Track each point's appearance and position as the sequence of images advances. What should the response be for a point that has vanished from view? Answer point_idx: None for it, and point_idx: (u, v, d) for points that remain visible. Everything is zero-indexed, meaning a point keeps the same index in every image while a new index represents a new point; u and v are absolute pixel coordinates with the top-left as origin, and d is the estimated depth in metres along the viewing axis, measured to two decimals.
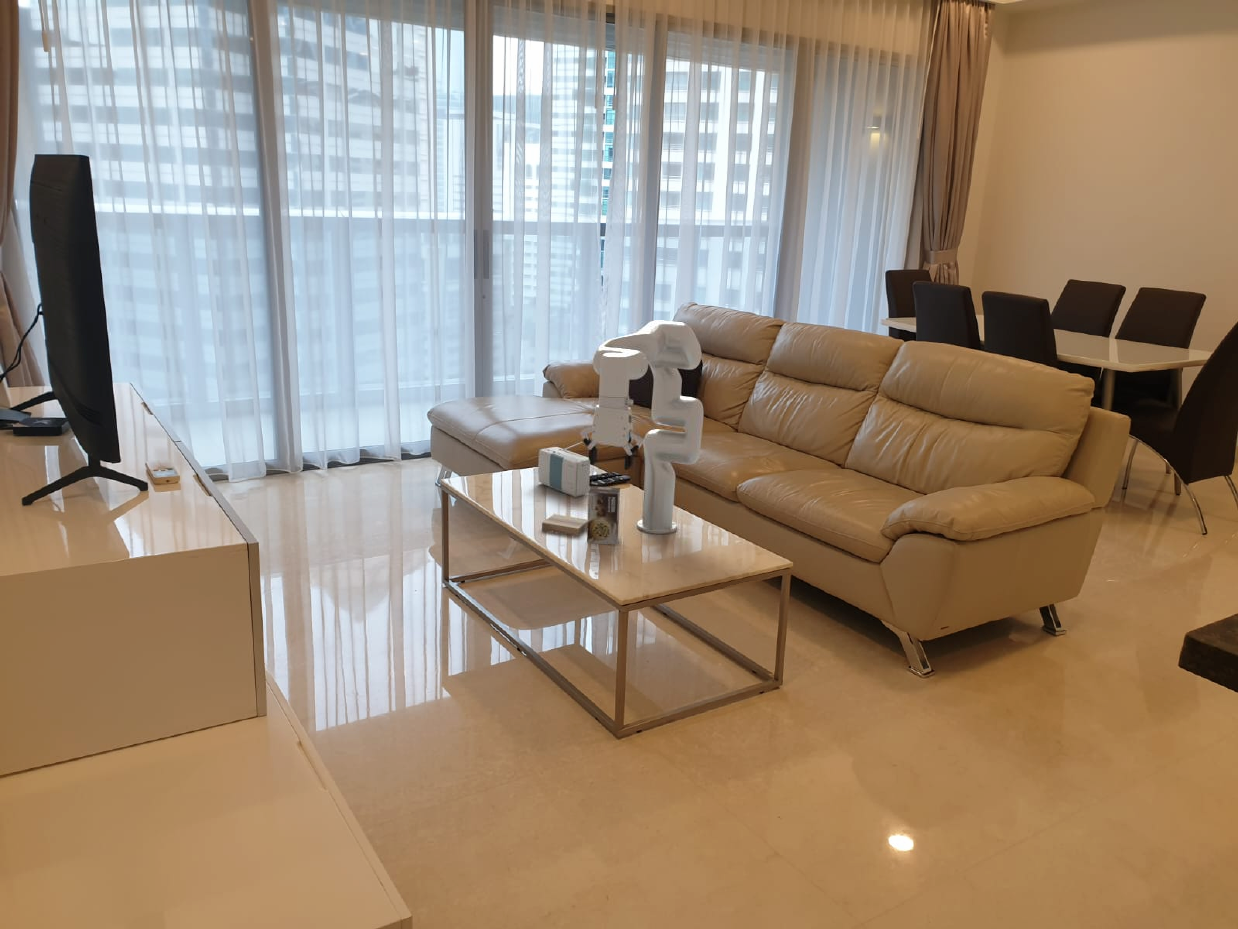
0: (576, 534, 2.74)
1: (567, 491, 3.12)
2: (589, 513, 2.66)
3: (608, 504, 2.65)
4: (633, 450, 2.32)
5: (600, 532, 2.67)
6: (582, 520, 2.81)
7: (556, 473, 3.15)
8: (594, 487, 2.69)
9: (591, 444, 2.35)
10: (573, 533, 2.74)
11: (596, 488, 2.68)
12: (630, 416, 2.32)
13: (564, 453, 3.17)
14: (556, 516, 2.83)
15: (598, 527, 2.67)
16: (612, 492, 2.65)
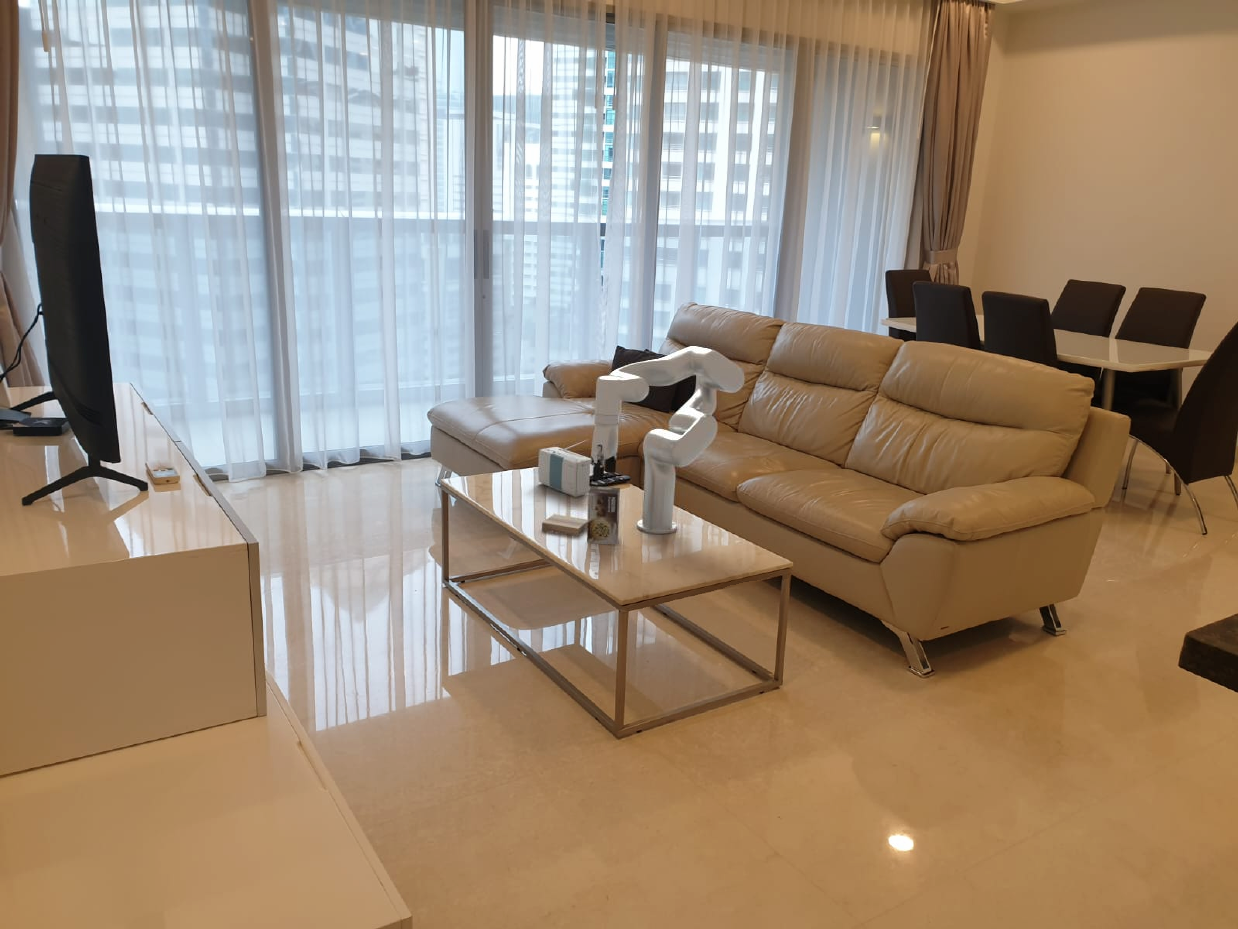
0: (576, 534, 2.74)
1: (567, 491, 3.12)
2: (589, 513, 2.66)
3: (608, 504, 2.65)
4: (615, 454, 2.70)
5: (600, 532, 2.67)
6: (582, 520, 2.81)
7: (556, 473, 3.15)
8: (594, 487, 2.69)
9: (603, 462, 2.59)
10: (573, 533, 2.74)
11: (596, 488, 2.68)
12: None
13: (564, 453, 3.17)
14: (556, 516, 2.83)
15: (598, 527, 2.67)
16: (612, 492, 2.65)
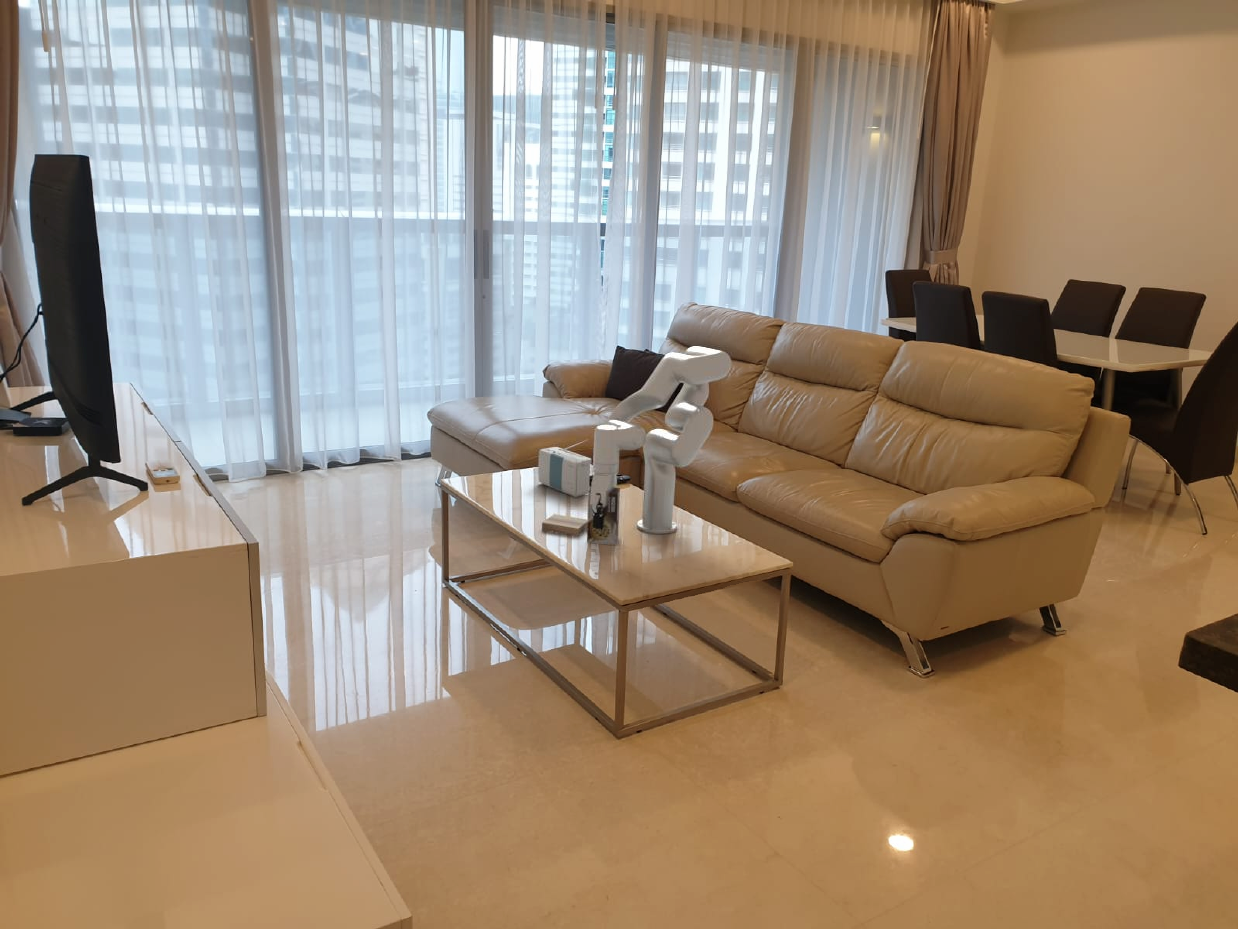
0: (576, 534, 2.74)
1: (567, 491, 3.12)
2: (589, 513, 2.66)
3: (608, 503, 2.65)
4: None
5: (600, 532, 2.67)
6: (582, 520, 2.81)
7: (556, 473, 3.15)
8: None
9: (602, 511, 2.64)
10: (573, 533, 2.74)
11: None
12: None
13: (564, 453, 3.17)
14: (556, 516, 2.83)
15: None
16: (612, 492, 2.65)
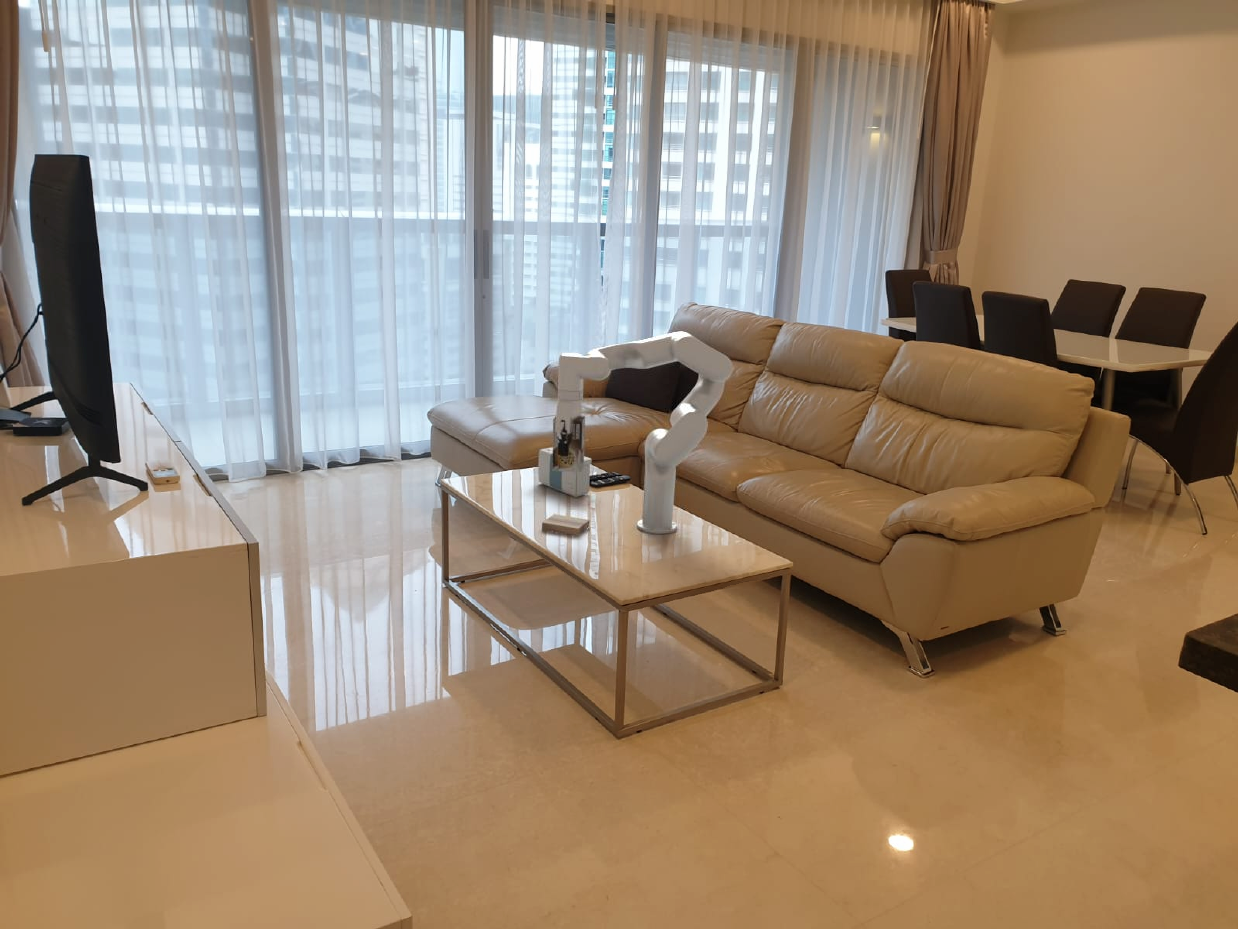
0: (576, 534, 2.74)
1: (567, 491, 3.12)
2: (554, 440, 2.70)
3: (572, 431, 2.68)
4: None
5: (565, 459, 2.71)
6: (582, 520, 2.81)
7: (556, 473, 3.15)
8: None
9: (567, 438, 2.68)
10: (573, 533, 2.74)
11: None
12: None
13: None
14: (556, 516, 2.83)
15: None
16: (577, 419, 2.69)
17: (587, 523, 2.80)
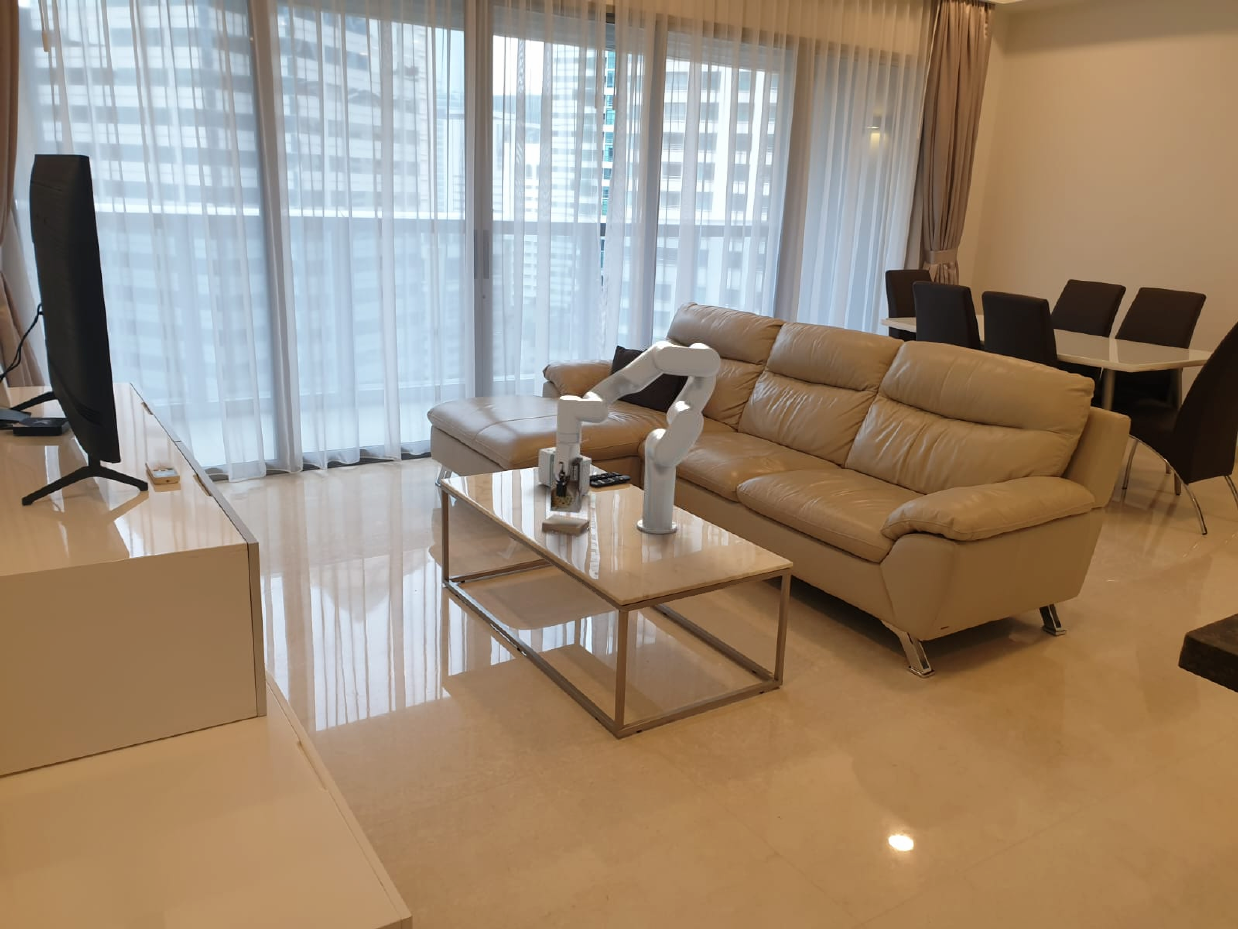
0: (576, 534, 2.74)
1: None
2: (552, 481, 2.73)
3: (570, 472, 2.72)
4: None
5: (563, 500, 2.74)
6: (582, 520, 2.81)
7: None
8: None
9: (565, 479, 2.71)
10: (573, 533, 2.74)
11: None
12: None
13: None
14: (556, 516, 2.83)
15: None
16: (575, 461, 2.72)
17: (587, 523, 2.80)
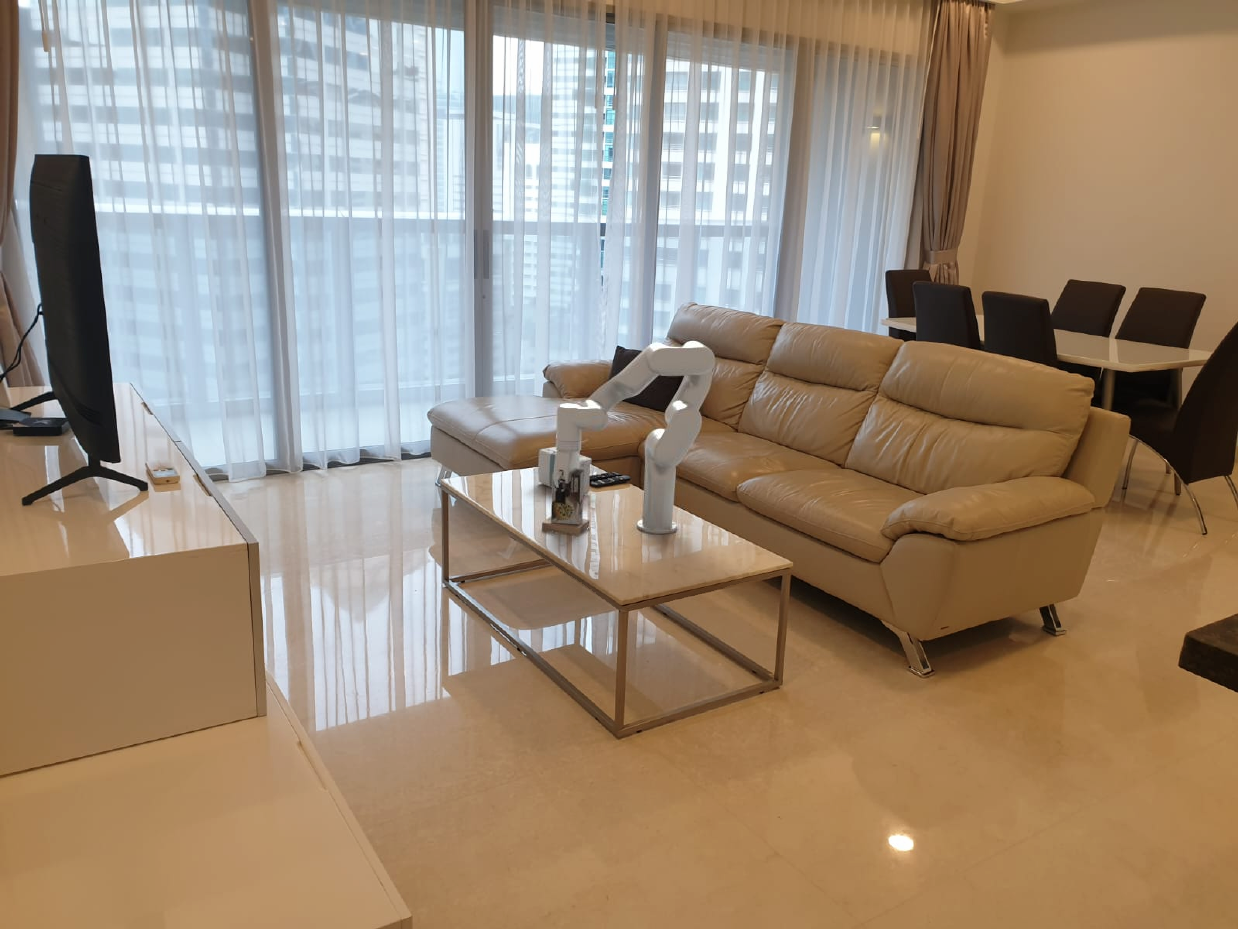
0: (576, 534, 2.74)
1: None
2: (553, 493, 2.75)
3: (571, 484, 2.73)
4: None
5: (564, 511, 2.75)
6: (582, 520, 2.81)
7: None
8: None
9: (564, 486, 2.71)
10: (573, 533, 2.74)
11: None
12: None
13: None
14: None
15: (562, 507, 2.75)
16: (575, 473, 2.73)
17: (587, 523, 2.80)
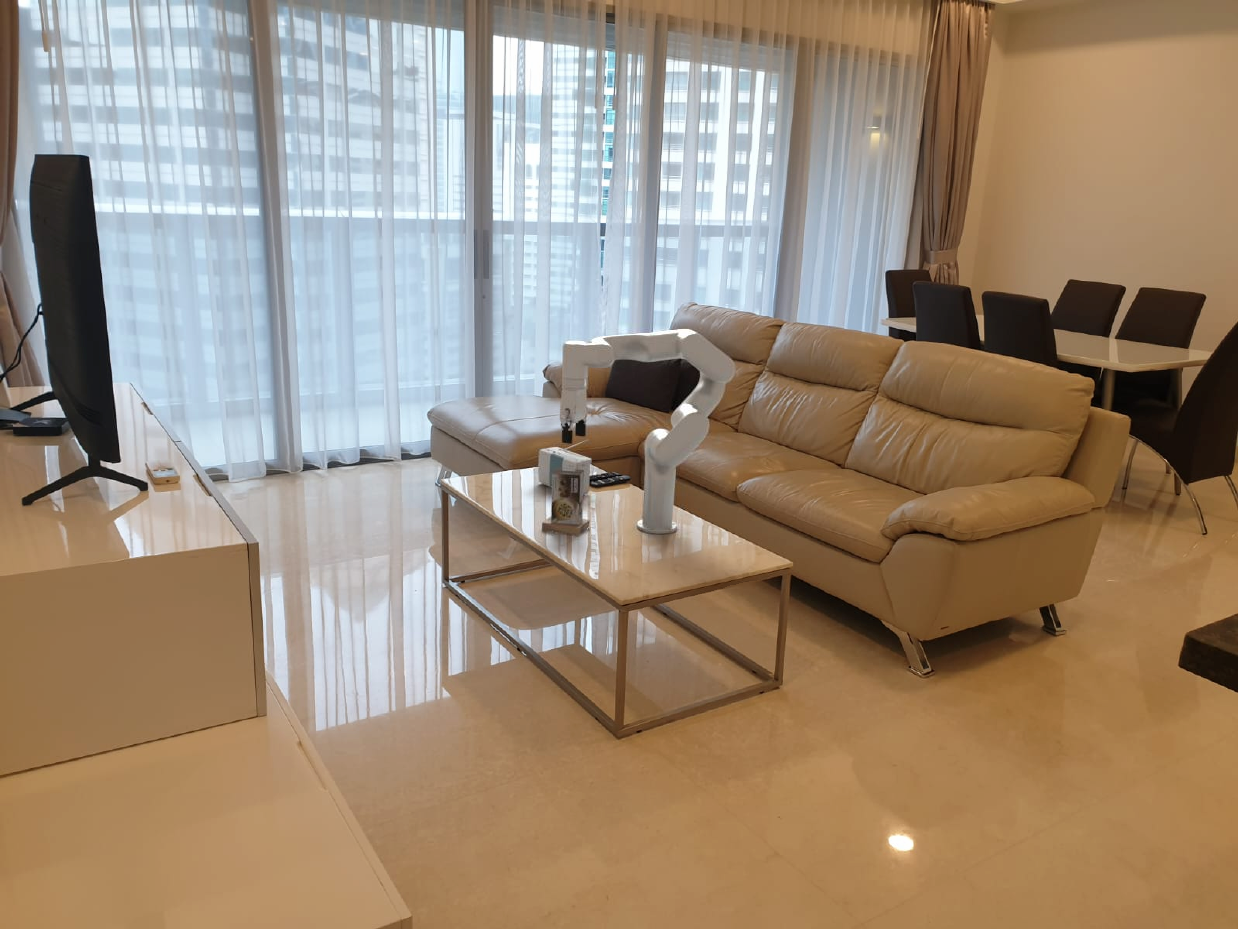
0: (576, 534, 2.74)
1: None
2: (553, 494, 2.74)
3: (570, 484, 2.73)
4: (585, 418, 2.76)
5: (564, 512, 2.75)
6: (582, 520, 2.81)
7: None
8: (558, 469, 2.77)
9: (571, 425, 2.65)
10: (573, 533, 2.74)
11: (560, 469, 2.76)
12: None
13: (564, 453, 3.17)
14: None
15: (562, 507, 2.75)
16: (575, 473, 2.73)
17: (587, 523, 2.80)
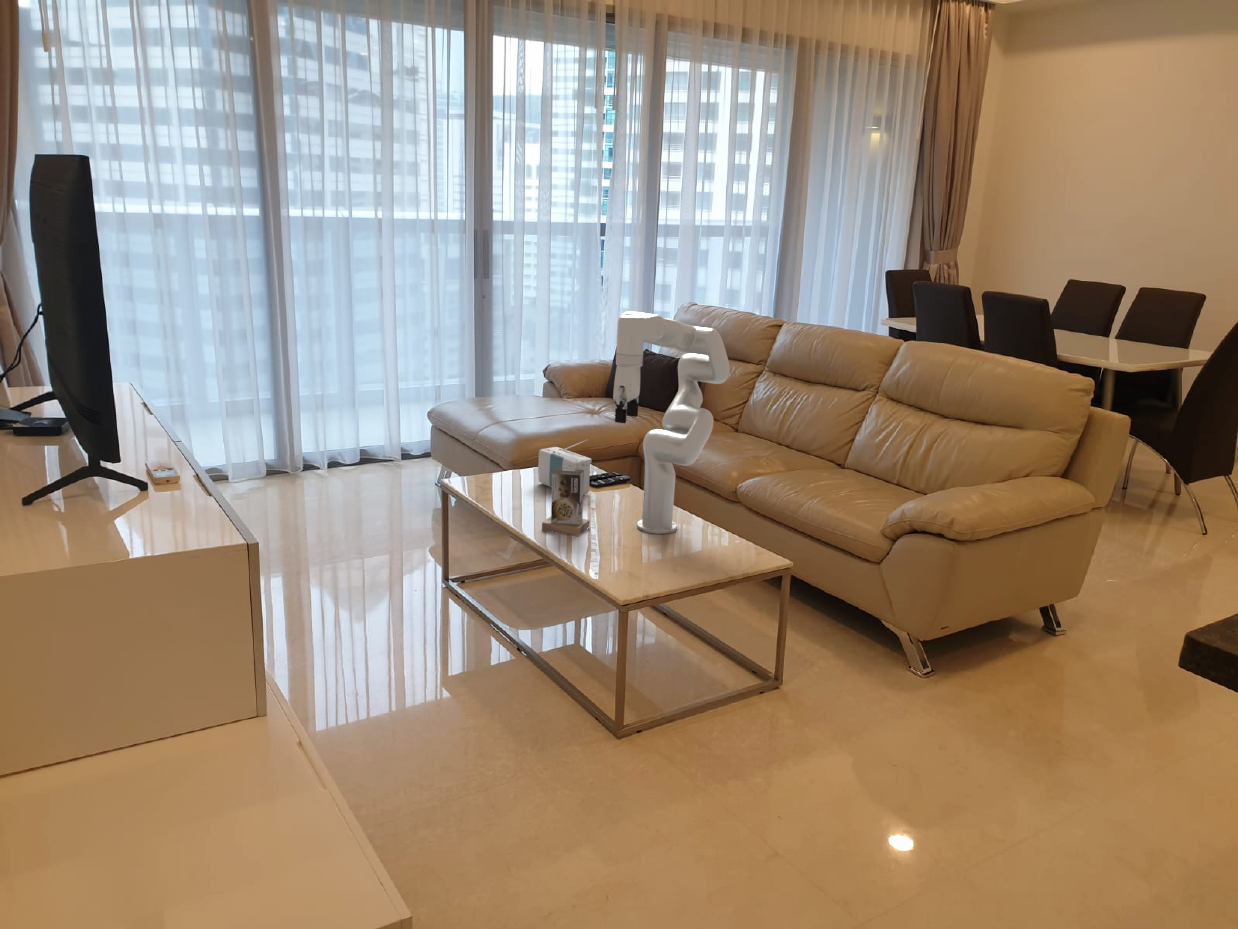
0: (576, 534, 2.74)
1: None
2: (553, 494, 2.74)
3: (570, 484, 2.73)
4: None
5: (564, 512, 2.75)
6: (582, 520, 2.81)
7: None
8: (558, 469, 2.77)
9: (625, 404, 2.52)
10: (573, 533, 2.74)
11: (560, 469, 2.76)
12: None
13: (564, 453, 3.17)
14: None
15: (562, 507, 2.75)
16: (575, 473, 2.73)
17: (587, 523, 2.80)
